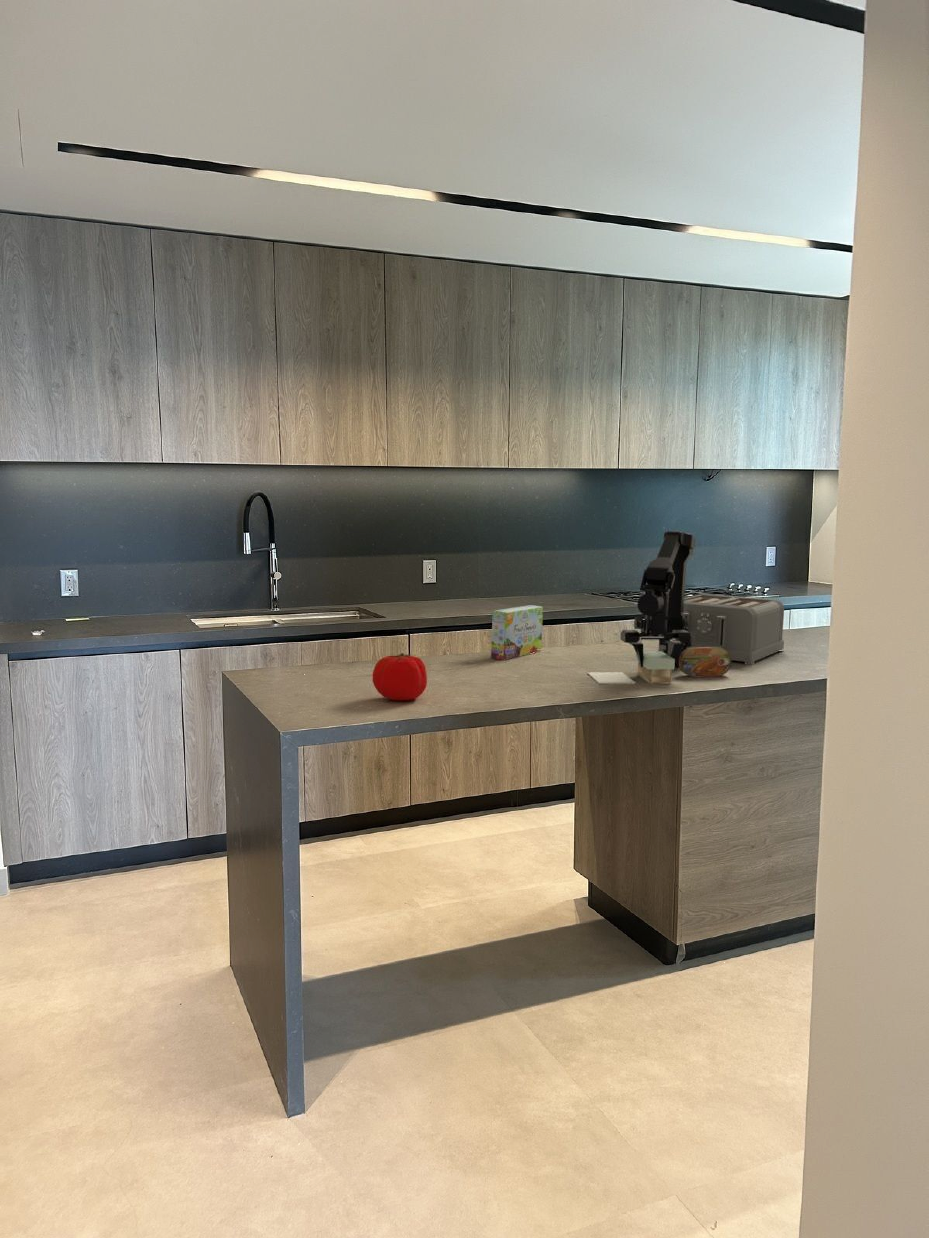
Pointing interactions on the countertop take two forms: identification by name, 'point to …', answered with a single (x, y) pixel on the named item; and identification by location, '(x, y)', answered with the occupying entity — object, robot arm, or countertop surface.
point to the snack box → (516, 631)
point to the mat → (611, 678)
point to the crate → (655, 675)
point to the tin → (705, 661)
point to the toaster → (735, 625)
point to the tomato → (400, 677)
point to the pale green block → (657, 660)
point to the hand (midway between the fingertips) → (654, 666)
